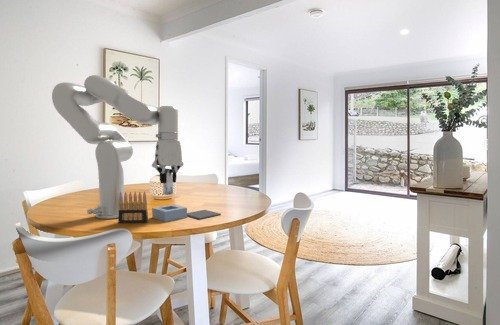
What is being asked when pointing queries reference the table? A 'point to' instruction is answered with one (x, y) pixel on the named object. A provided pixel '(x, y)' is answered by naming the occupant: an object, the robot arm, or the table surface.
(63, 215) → the table surface
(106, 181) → the robot arm
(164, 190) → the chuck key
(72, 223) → the table surface
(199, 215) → the rubber mat
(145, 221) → the ammunition clip
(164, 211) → the block
